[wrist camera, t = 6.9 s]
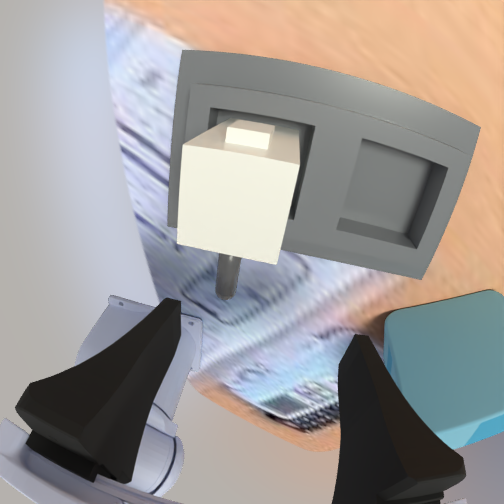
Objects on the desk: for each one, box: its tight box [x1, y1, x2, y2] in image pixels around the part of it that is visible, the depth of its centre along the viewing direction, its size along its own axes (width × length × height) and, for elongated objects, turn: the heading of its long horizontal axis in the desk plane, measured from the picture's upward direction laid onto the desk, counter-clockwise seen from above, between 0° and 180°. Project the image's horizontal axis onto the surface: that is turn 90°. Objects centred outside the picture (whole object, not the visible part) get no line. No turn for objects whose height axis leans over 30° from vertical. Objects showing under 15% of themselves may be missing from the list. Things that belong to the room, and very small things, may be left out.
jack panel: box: [168, 50, 481, 280], centre depth 17 cm, size 19×12×3 cm, turn 81°
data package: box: [383, 290, 504, 449], centre depth 18 cm, size 12×4×12 cm, turn 106°
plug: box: [177, 118, 300, 300], centre depth 15 cm, size 4×8×8 cm, turn 171°
